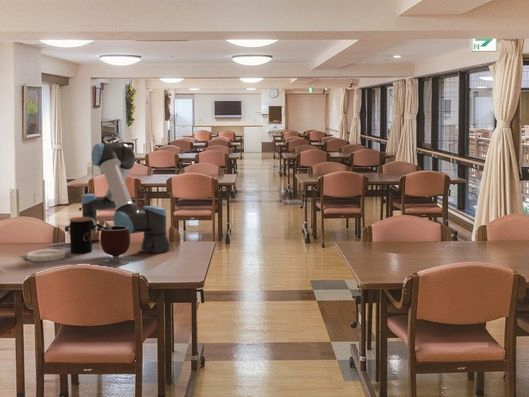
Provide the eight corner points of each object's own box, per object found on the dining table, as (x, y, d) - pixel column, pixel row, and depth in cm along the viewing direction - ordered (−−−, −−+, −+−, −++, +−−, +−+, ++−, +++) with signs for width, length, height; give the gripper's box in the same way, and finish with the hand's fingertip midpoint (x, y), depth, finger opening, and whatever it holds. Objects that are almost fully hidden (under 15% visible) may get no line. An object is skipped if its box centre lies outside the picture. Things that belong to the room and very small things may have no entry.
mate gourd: (136, 262, 353) (135, 221, 350) (113, 267, 342) (112, 225, 340) (116, 258, 363) (115, 218, 360) (93, 263, 352) (91, 222, 350)
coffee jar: (86, 255, 371) (85, 220, 368) (67, 254, 373) (65, 219, 371) (95, 251, 381) (94, 217, 379) (76, 250, 383) (75, 216, 381)
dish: (71, 257, 362) (71, 253, 362) (35, 262, 351) (34, 258, 351) (57, 252, 376) (57, 247, 376) (22, 256, 366) (22, 252, 365)
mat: (74, 259, 361) (74, 258, 361) (34, 264, 349) (34, 263, 349) (57, 252, 379) (57, 251, 379) (19, 257, 367) (19, 256, 367)
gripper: (110, 230, 407) (107, 237, 386) (64, 231, 404) (58, 238, 383) (110, 217, 406) (106, 223, 385) (64, 218, 403) (57, 224, 383)
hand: (82, 231), depth 384 cm, fingers open, 13 cm apart
